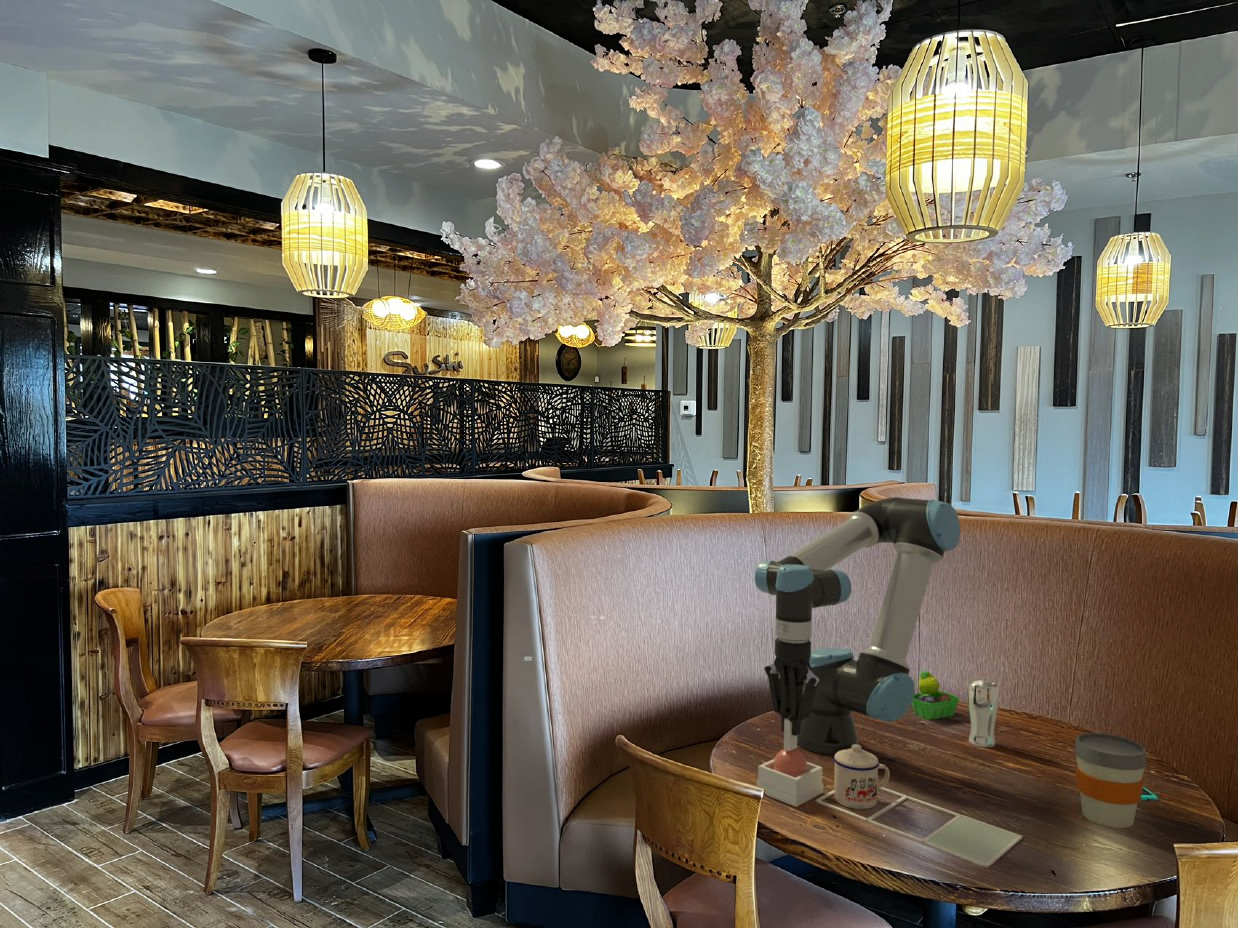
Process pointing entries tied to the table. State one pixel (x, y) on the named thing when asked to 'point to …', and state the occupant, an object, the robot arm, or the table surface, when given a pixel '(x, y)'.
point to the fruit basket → (933, 699)
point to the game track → (952, 833)
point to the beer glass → (982, 712)
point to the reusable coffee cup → (1109, 777)
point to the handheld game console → (1147, 795)
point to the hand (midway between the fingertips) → (790, 748)
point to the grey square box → (790, 784)
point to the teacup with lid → (857, 778)
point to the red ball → (790, 763)
